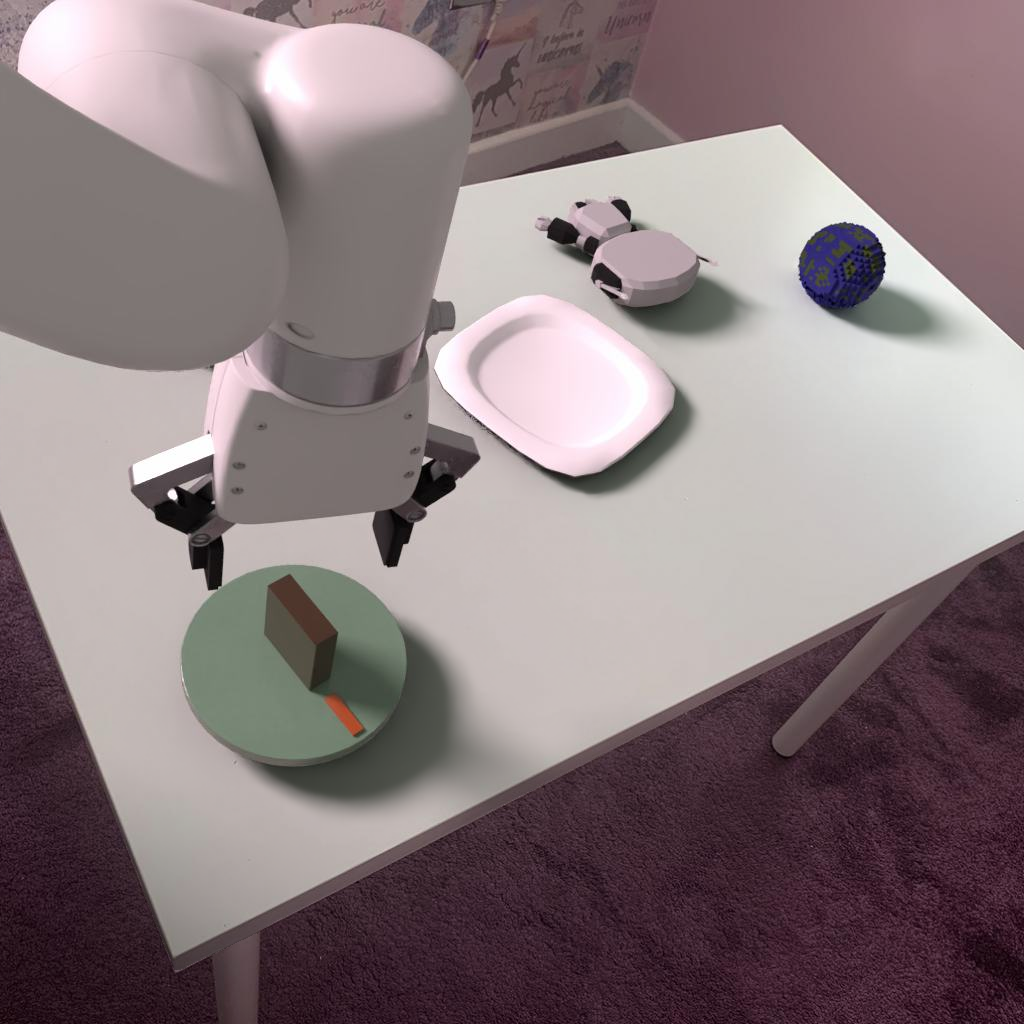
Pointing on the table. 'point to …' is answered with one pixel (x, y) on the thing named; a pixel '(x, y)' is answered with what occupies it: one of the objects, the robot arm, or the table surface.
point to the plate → (556, 384)
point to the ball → (842, 265)
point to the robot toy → (626, 253)
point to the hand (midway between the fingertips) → (299, 557)
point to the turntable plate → (269, 687)
